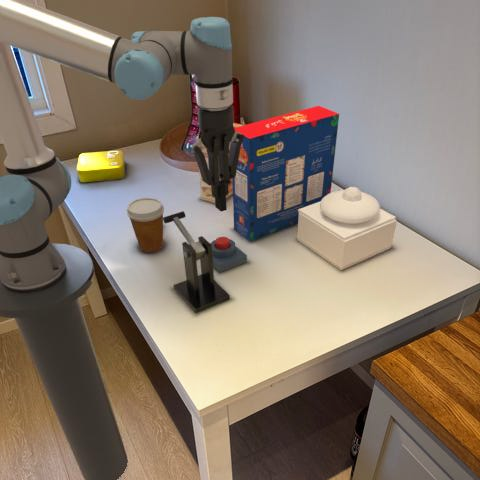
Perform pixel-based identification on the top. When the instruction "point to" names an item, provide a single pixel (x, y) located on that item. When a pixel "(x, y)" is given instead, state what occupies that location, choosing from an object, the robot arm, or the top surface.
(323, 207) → the white domed box
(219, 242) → the button
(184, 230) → the lever
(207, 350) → the top surface
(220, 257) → the button box
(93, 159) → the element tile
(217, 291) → the bracket
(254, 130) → the blue cereal box
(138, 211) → the disposable coffee cup
